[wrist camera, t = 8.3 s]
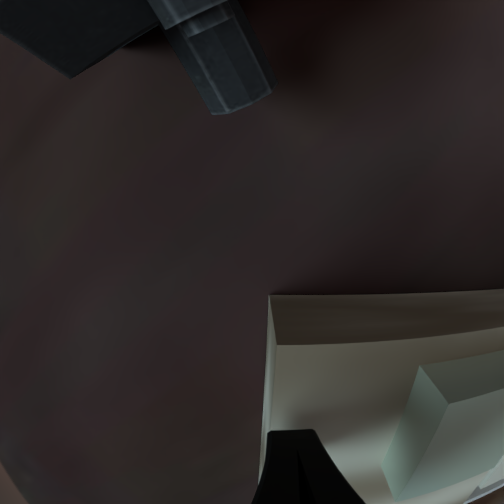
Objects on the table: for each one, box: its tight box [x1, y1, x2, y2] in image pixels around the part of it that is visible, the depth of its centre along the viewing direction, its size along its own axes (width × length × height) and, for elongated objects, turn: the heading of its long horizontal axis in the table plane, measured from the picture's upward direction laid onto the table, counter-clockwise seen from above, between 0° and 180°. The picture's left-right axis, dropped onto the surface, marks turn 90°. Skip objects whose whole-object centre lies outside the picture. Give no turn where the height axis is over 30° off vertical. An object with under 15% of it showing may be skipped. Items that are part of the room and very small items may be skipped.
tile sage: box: [381, 350, 504, 502], centre depth 8 cm, size 5×5×2 cm
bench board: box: [258, 289, 504, 504], centre depth 12 cm, size 16×13×4 cm
